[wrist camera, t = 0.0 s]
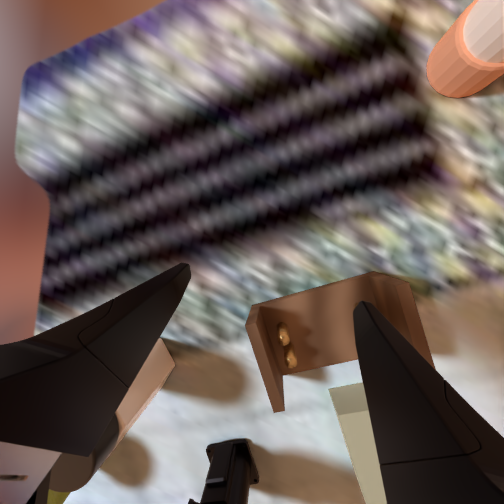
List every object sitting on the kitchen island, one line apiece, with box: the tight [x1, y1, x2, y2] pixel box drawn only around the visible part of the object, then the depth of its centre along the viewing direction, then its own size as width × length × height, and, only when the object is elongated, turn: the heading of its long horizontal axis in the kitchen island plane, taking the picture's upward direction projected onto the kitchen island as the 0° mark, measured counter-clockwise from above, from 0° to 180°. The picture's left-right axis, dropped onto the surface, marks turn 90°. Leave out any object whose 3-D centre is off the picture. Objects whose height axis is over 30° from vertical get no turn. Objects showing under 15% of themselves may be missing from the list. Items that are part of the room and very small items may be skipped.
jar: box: [49, 338, 175, 492], centre depth 22 cm, size 9×8×12 cm
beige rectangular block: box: [329, 383, 387, 504], centre depth 22 cm, size 12×4×4 cm, turn 18°
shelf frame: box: [245, 271, 436, 413], centre depth 21 cm, size 16×10×6 cm, turn 108°
